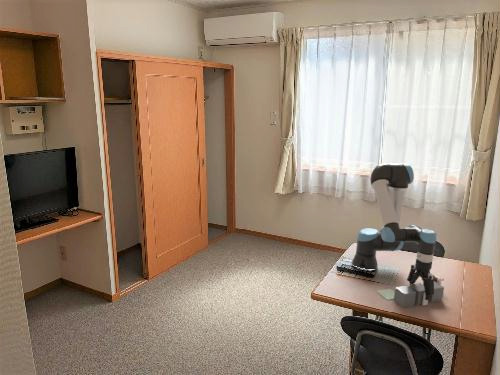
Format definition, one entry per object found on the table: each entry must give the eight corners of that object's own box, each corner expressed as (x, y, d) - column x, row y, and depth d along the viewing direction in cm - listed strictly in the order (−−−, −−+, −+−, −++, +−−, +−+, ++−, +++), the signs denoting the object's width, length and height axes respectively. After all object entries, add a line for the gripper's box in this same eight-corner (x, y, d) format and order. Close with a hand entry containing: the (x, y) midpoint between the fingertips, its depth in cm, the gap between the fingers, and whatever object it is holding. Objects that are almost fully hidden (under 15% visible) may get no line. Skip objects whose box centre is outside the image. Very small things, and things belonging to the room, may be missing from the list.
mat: (376, 291, 206) (376, 291, 206) (390, 289, 209) (390, 288, 209) (387, 300, 198) (387, 299, 198) (401, 297, 201) (401, 297, 201)
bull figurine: (437, 293, 206) (439, 280, 204) (420, 282, 219) (422, 268, 217) (444, 293, 208) (446, 279, 206) (426, 281, 220) (429, 268, 218)
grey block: (393, 300, 198) (395, 287, 196) (404, 298, 201) (406, 285, 199) (402, 307, 192) (404, 294, 190) (414, 305, 194) (416, 292, 192)
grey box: (407, 297, 201) (409, 285, 199) (418, 296, 204) (420, 283, 202) (417, 304, 195) (419, 291, 193) (428, 302, 197) (430, 289, 195)
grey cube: (421, 295, 204) (423, 282, 202) (431, 293, 206) (433, 281, 205) (431, 302, 198) (433, 289, 196) (441, 300, 200) (444, 287, 198)
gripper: (403, 252, 202) (397, 290, 208) (434, 270, 182) (427, 312, 188) (414, 250, 205) (409, 288, 210) (447, 268, 185) (439, 310, 191)
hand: (417, 299), depth 199 cm, fingers open, 9 cm apart
